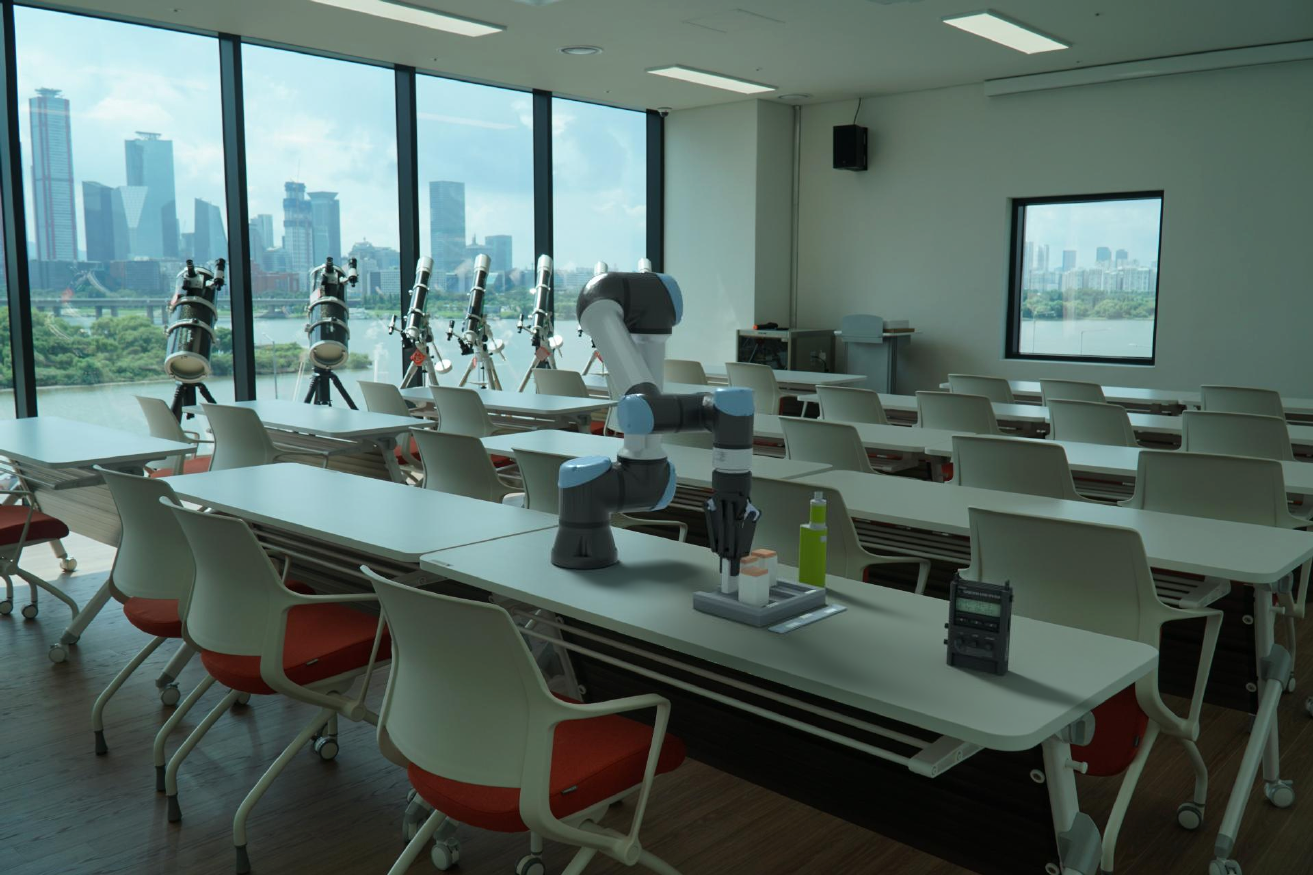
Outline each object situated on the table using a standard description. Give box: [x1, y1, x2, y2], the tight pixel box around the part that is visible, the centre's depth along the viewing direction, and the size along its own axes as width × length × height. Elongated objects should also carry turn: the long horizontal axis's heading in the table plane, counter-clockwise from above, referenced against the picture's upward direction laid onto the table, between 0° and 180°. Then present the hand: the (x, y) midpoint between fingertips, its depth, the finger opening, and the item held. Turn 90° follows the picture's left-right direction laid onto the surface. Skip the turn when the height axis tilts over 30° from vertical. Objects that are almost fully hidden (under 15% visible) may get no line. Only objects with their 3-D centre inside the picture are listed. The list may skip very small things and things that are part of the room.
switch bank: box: [692, 576, 827, 628], centre depth 193 cm, size 16×21×3 cm
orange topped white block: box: [739, 566, 769, 607], centre depth 186 cm, size 4×4×7 cm
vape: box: [797, 491, 828, 589], centre depth 206 cm, size 4×6×20 cm, turn 37°
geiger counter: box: [943, 571, 1015, 677], centre depth 160 cm, size 10×4×15 cm, turn 56°
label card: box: [768, 603, 848, 634], centre depth 185 cm, size 3×21×1 cm, turn 137°
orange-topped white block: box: [737, 554, 759, 590], centre depth 195 cm, size 4×4×7 cm
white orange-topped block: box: [750, 548, 778, 587], centre depth 199 cm, size 4×4×7 cm
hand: (728, 591), depth 190 cm, fingers closed
